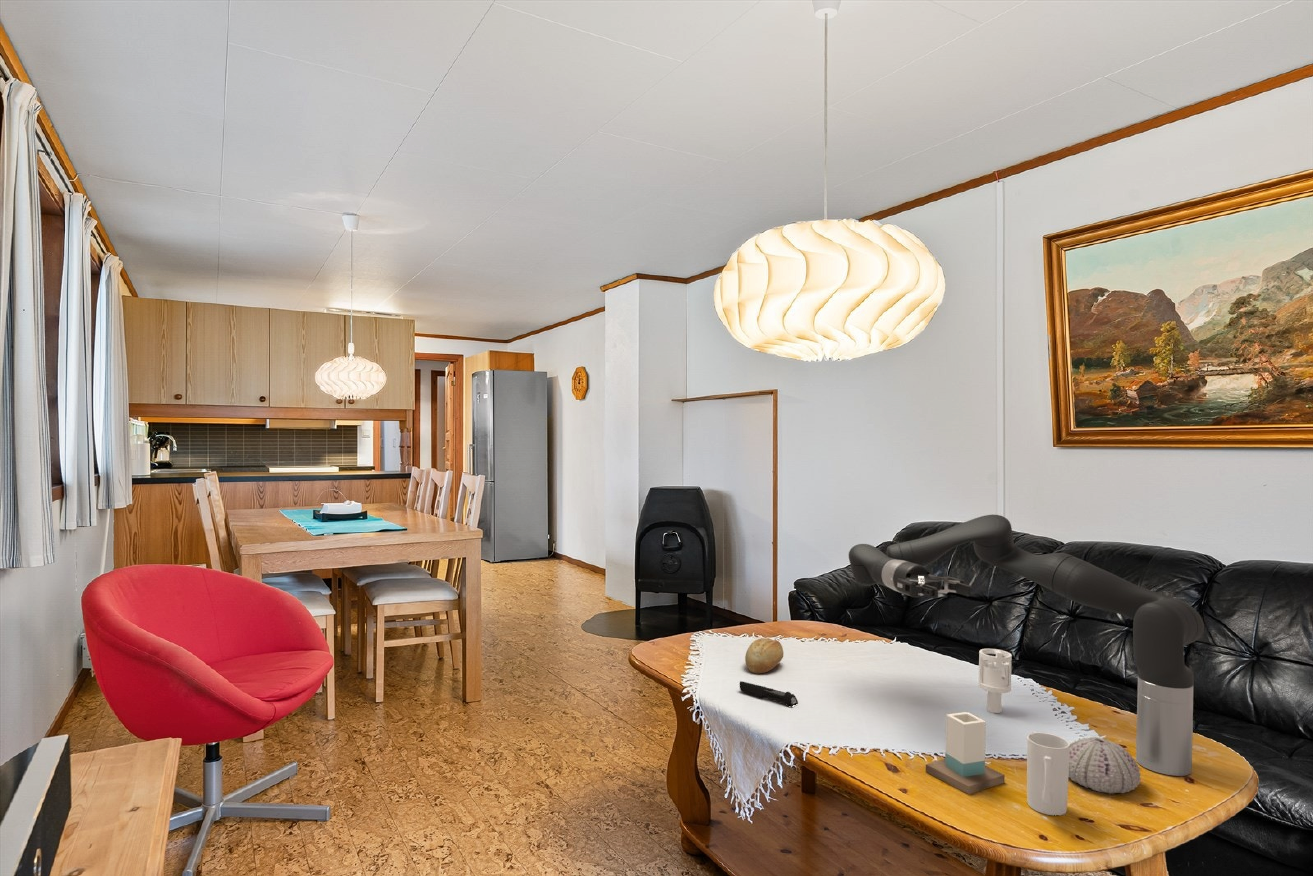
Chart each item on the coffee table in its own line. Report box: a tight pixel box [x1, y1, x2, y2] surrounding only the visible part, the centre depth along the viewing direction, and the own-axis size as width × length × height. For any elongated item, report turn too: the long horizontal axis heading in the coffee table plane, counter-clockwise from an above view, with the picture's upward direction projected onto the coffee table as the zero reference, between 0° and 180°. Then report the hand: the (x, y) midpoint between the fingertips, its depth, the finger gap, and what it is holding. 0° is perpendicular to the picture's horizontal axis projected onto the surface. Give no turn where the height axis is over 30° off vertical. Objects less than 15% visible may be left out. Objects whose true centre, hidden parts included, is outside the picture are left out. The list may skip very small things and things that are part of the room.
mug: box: [1026, 732, 1071, 817], centre depth 132 cm, size 10×7×12 cm, turn 152°
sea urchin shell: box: [1068, 736, 1142, 795], centre depth 143 cm, size 13×14×8 cm
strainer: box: [978, 648, 1013, 714], centre depth 178 cm, size 7×7×15 cm
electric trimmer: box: [739, 680, 799, 707], centre depth 185 cm, size 4×16×3 cm, turn 51°
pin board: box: [925, 758, 1006, 795], centre depth 144 cm, size 10×10×6 cm
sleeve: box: [944, 711, 987, 777], centre depth 144 cm, size 5×5×10 cm
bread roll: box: [744, 637, 784, 675], centre depth 208 cm, size 10×15×8 cm, turn 153°
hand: (953, 592), depth 161 cm, fingers open, 8 cm apart
